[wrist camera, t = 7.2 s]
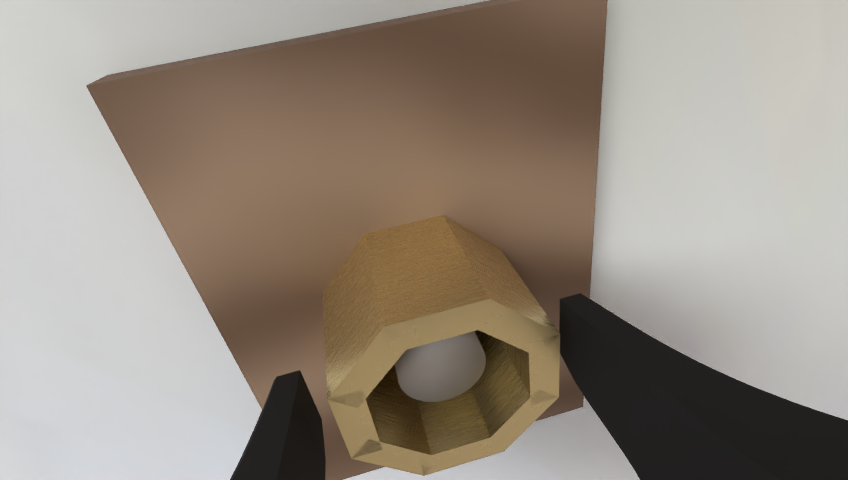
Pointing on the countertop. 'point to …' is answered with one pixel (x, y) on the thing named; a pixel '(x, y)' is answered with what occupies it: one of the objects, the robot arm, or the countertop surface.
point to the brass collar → (425, 323)
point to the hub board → (371, 172)
